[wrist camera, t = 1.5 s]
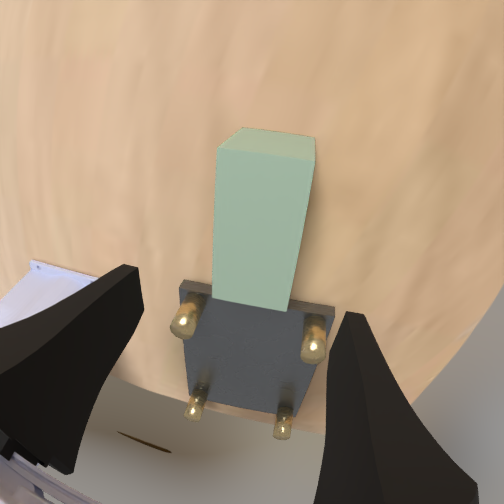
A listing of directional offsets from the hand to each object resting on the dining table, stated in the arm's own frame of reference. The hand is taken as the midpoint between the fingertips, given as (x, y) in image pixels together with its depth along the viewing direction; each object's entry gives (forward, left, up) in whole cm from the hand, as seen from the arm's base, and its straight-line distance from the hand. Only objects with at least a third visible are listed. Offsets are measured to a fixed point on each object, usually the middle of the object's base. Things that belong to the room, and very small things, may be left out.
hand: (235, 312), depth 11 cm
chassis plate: (0, -14, -10) cm, 17 cm away
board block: (0, 0, -10) cm, 10 cm away
